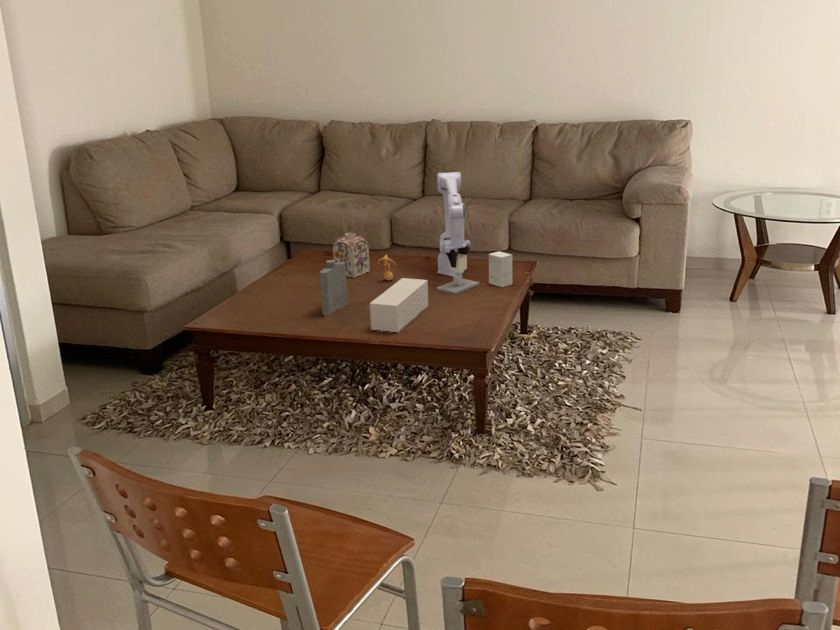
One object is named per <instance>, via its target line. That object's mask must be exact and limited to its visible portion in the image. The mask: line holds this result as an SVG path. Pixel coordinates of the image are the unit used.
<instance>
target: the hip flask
mask: <svg viewBox="0 0 840 630" xmlns="http://www.w3.org/2000/svg"><path fill="white" fill-rule="evenodd" d="M325 263H326V267H324V268H323V269H321V270H320V271H319V279H320V294H321V295H320V297H321V309H322V316H323V315H330V314H331V313H332V312H334V311H335V310H337V309H339V308H341V307H343V308H345V307H347V306H348V305H349V303H348V287H347V285H348V284H347V277H346V267H345V262H338V263H336V262H335V260H334V259H329V260H328V259H327V260H326V262H325ZM346 305H347V306H346ZM344 306H345V307H344ZM341 309H342V308H341ZM339 310H340V309H339ZM337 311H338V310H337ZM335 312H336V311H335ZM335 312H334V313H335ZM330 316H331V315H330Z"/></svg>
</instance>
